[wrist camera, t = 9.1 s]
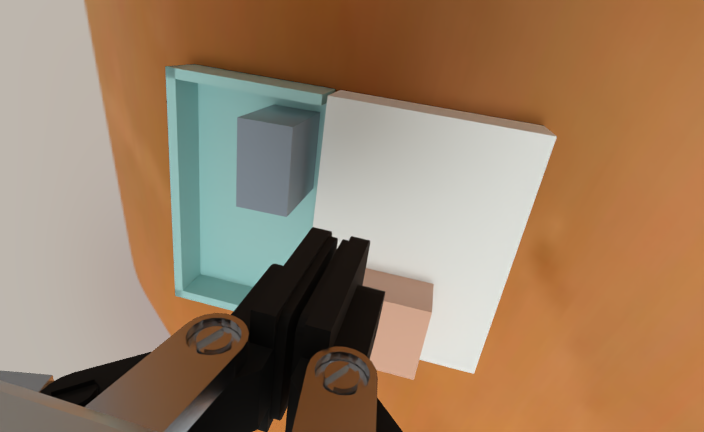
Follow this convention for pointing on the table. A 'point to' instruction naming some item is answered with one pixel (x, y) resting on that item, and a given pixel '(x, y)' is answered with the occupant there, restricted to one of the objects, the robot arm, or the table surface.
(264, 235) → the tray
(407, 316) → the salmon pink box
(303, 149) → the grey block
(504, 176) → the white flat block
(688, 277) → the table surface
